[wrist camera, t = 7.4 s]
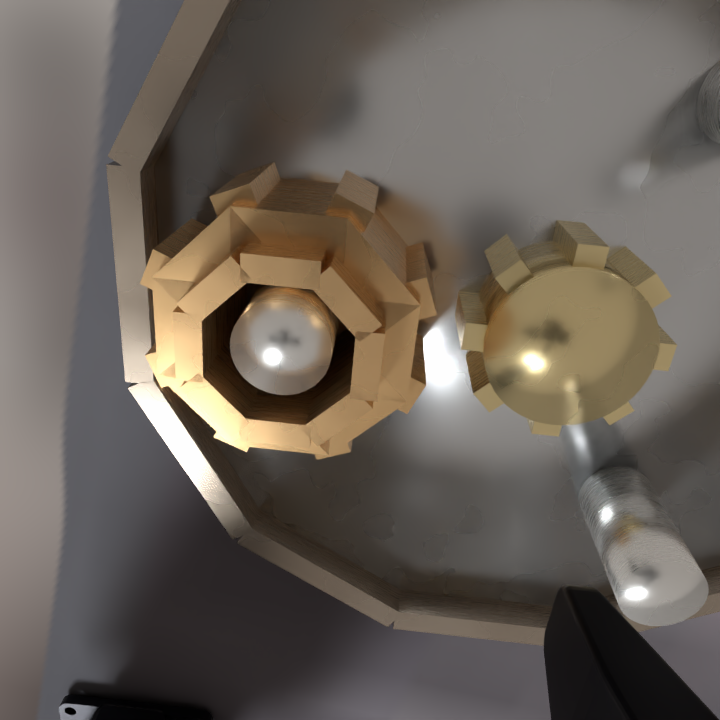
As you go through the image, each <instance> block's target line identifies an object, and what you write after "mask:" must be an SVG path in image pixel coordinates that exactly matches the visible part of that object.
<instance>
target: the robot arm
mask: <svg viewBox="0 0 720 720" xmlns="http://www.w3.org/2000/svg"><path fill="white" fill-rule="evenodd" d="M544 657H545V667H546V676H547V685H548V694H549V703H550V712H551V720H719V719H718V718H717V717H716V716H715V715H714V714H713V712H712V711H711V710H710V709H709V708H708V707H707V706H706V705H705V704H704V703H703V702H702V701H701V700H700V698H699V697H698V696H697V695H696V694H695V693H694V692H693V691H692V690H691V689H690V688H689V687H688V686H687V684H686V683H685V682H684V681H683V680H682V679H681V678H680V677H679V676H678V675H677V674H676V673H675V672H674V670H673V669H672V668H671V667H670V666H669V665H668V664H667V663H666V662H665V661H664V660H663V659H662V658H661V657H660V655H659V654H658V653H657V652H656V651H655V650H654V649H653V648H652V647H651V646H650V645H649V644H648V643H647V641H646V640H645V639H644V638H643V637H642V636H641V635H640V634H639V633H638V632H637V631H636V630H635V629H634V627H633V626H632V625H631V624H630V623H629V622H628V621H627V620H626V619H625V618H624V617H623V616H622V615H621V613H620V612H619V611H618V610H617V609H616V608H615V607H614V606H613V605H612V604H611V603H610V602H609V601H608V599H607V598H606V597H605V596H604V595H603V594H602V593H601V592H600V591H598V590H597V589H595V588H593V587H587V586H578V585H569V584H566V585H562V586H561V587H560V588H559V590H558V592H557V594H556V597H555V601H554V604H553V607H552V610H551V613H550V617H549V620H548V623H547V626H546V630H545V634H544ZM59 713H60V719H61V720H213V716H212V715H211V714H210V713H209V712H207V711H205V710H201V709H192V708H183V707H174V706H166V705H157V704H148V703H140V702H131V701H122V700H114V699H105V698H96V697H88V696H79V695H68V696H65V698H64V699H63V701H62V703H61V705H60V706H59Z"/></svg>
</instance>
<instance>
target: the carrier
mask: <svg viewBox="0 0 720 720" xmlns="http://www.w3.org/2000/svg"><path fill="white" fill-rule="evenodd" d="M108 157H110V158H111V159H113V160H114V162H112V163H109V164H106V166H107V178H108V189H109V200H110V212H111V223H112V234H113V246H114V257H115V269H116V280H117V291H118V303H119V314H120V325H121V337H122V348H123V359H124V371H125V382H132V384H131V385H130V386H129V387H128V389H129V390H130V392H131V393H132V395H133V396H134V398H135V399H136V401H137V402H138V403H139V405H140V406H141V408H142V409H143V411H144V412H145V414H146V415H147V416H148V418H149V419H150V421H151V422H152V424H153V425H154V427H155V428H156V429H157V431H158V432H159V434H160V435H161V437H162V438H163V440H164V441H165V442H166V444H167V445H168V447H169V448H170V450H171V451H172V453H173V454H174V455H175V457H176V458H177V460H178V461H179V463H180V464H181V466H182V467H183V468H184V470H185V471H186V473H187V474H188V476H189V477H190V479H191V480H192V482H193V483H194V484H195V486H196V487H197V489H198V490H199V492H200V493H201V495H202V496H203V497H204V499H205V500H206V502H207V503H208V505H209V506H210V508H211V509H212V510H213V512H214V513H215V515H216V516H217V518H218V519H219V521H220V522H221V523H222V525H223V526H224V528H225V529H226V531H227V532H228V534H229V535H230V536H231V538H232V539H235V538H238V537H239V538H238V541H237V544H239V545H241V546H243V547H245V548H246V549H248V550H250V551H252V552H254V553H255V554H257V555H259V556H261V557H263V558H264V559H266V560H268V561H270V562H272V563H273V564H275V565H277V566H279V567H281V568H282V569H284V570H286V571H288V572H290V573H291V574H293V575H295V576H297V577H299V578H300V579H302V580H304V581H306V582H308V583H309V584H311V585H313V586H315V587H317V588H318V589H320V590H322V591H324V592H326V593H327V594H329V595H331V596H333V597H335V598H336V599H338V600H340V601H342V602H344V603H345V604H347V605H349V606H351V607H353V608H354V609H356V610H358V611H360V612H362V613H363V614H365V615H367V616H369V617H371V618H372V619H374V620H376V621H378V622H380V623H381V624H383V625H385V626H387V627H388V626H389V625H390V624H391V623H392V622H393V629H400V630H409V631H418V632H427V633H436V634H444V635H453V636H462V637H471V638H480V639H489V640H498V641H507V642H516V643H525V644H533V645H542V646H544V634H545V630H546V626H547V623H548V620H549V617H550V613H551V610H552V607H553V604H554V601H555V597H556V594H557V592H558V590H559V588H560V587H561V586H562V585H566V584H569V585H578V586H587V587H593V588H595V589H597V590H598V591H600V592H601V593H602V594H603V595H604V596H605V597H606V598H607V599H608V601H609V602H610V603H611V604H612V605H613V606H614V607H615V608H616V609H617V610H618V611H619V612H620V613H621V615H622V616H623V617H624V618H625V619H626V620H627V621H628V622H629V623H630V624H631V625H632V626H633V627H634V629H635V630H636V631H637V632H640V631H644V630H648V629H652V628H656V627H660V626H666V625H671V624H675V623H678V622H681V621H684V620H688V619H692V618H696V617H700V616H704V615H708V614H712V613H716V612H720V0H184V2H183V4H182V6H181V8H180V10H179V12H178V14H177V16H176V19H175V21H174V23H173V25H172V27H171V29H170V31H169V33H168V35H167V37H166V39H165V41H164V43H163V45H162V47H161V49H160V51H159V53H158V55H157V57H156V59H155V61H154V63H153V65H152V67H151V69H150V71H149V73H148V75H147V77H146V80H145V82H144V84H143V86H142V88H141V90H140V92H139V94H138V96H137V98H136V100H135V102H134V104H133V106H132V108H131V110H130V112H129V114H128V116H127V118H126V120H125V122H124V124H123V126H122V128H121V130H120V132H119V134H118V136H117V139H116V141H115V143H114V145H113V147H112V149H111V151H110V153H109V155H108ZM273 162H274V163H275V166H276V168H277V171H278V174H279V177H283V178H293V179H303V180H312V181H322V182H332V183H340V181H341V179H342V177H343V175H344V173H345V171H346V169H347V170H348V171H350V172H352V173H354V174H356V175H357V176H359V177H361V178H363V179H365V180H367V181H368V182H370V183H372V184H374V185H376V186H378V187H379V189H378V195H377V200H376V207H377V208H378V210H379V211H380V212H381V213H382V214H383V216H384V217H385V218H386V219H387V221H388V222H389V223H390V224H391V226H392V227H393V228H394V229H395V230H396V232H397V233H398V234H399V235H400V237H401V238H402V239H403V240H404V241H405V243H406V244H407V245H408V246H411V245H414V244H418V243H421V242H423V244H424V248H425V251H426V255H427V259H428V262H429V266H430V269H431V273H432V279H433V287H434V295H435V303H436V311H437V315H435V316H431V317H427V318H424V319H420V320H419V321H418V328H417V334H419V335H421V336H423V344H424V359H425V373H426V387H425V388H424V390H423V391H422V393H421V394H420V396H419V397H418V399H417V400H416V402H415V403H414V405H413V406H412V408H411V409H410V411H409V412H408V414H406V413H404V412H402V411H400V410H398V409H397V410H395V411H394V412H392V413H391V414H389V415H388V416H387V417H385V418H384V419H382V420H381V421H379V422H378V423H376V424H375V425H373V426H372V427H370V428H369V429H367V430H366V431H364V432H363V433H361V434H360V435H359V436H357V437H356V438H354V439H353V440H352V447H351V452H349V453H344V454H340V455H336V456H331V457H327V458H323V459H318V460H317V459H316V457H315V454H310V453H301V452H291V451H282V450H273V449H264V448H255V447H249V449H248V451H247V452H245V451H243V450H241V449H239V448H236V447H234V446H232V445H230V444H228V443H225V442H223V441H221V440H219V439H217V438H214V435H215V433H216V431H215V430H214V429H213V428H212V427H211V426H210V425H209V424H208V423H207V422H206V421H205V420H204V419H203V418H202V417H201V416H200V415H199V414H197V413H196V412H195V411H194V410H193V409H192V408H191V407H190V406H189V405H188V404H187V403H186V402H185V401H184V400H183V399H182V398H181V397H180V396H178V395H177V394H176V393H175V392H174V391H173V390H172V389H171V388H170V387H169V386H166V387H162V388H161V386H160V384H159V383H158V381H157V379H156V377H155V375H154V373H153V371H152V369H151V367H150V365H149V363H148V361H147V359H146V357H145V354H146V353H147V352H148V351H149V350H150V349H151V347H152V346H153V345H154V344H155V343H156V339H155V322H154V306H153V290H151V289H149V288H147V287H145V286H143V285H141V284H140V282H141V279H142V277H143V274H144V271H145V269H146V266H147V264H148V261H149V258H150V256H151V253H152V250H153V249H154V248H155V247H156V246H158V245H159V244H160V243H161V242H163V241H164V240H165V239H166V238H168V237H169V236H170V235H171V234H173V233H174V232H175V231H176V230H178V229H179V228H180V227H181V226H183V225H184V224H185V223H186V222H188V221H189V220H190V219H194V220H196V221H198V222H200V223H202V224H204V225H206V226H209V225H210V224H211V223H212V222H213V221H214V220H215V219H216V218H217V214H216V212H215V209H214V207H213V205H212V202H211V200H210V196H211V195H212V194H214V193H215V192H216V191H217V190H219V189H220V188H221V187H223V186H224V185H225V184H227V183H228V182H229V181H231V180H232V179H233V178H235V177H236V176H237V175H239V174H240V173H242V172H246V171H249V170H252V169H255V168H258V167H261V166H264V165H267V164H270V163H273ZM346 329H347V327H346V326H345V325H344V324H343V323H342V322H341V321H340V319H339V318H338V317H337V316H336V315H335V314H334V313H333V312H332V311H331V309H330V308H329V307H328V306H327V305H326V304H325V303H324V302H323V301H322V299H321V298H320V297H319V296H318V295H317V294H316V293H315V292H314V291H313V290H311V289H302V288H292V287H283V286H273V285H263V284H254V283H247V306H246V308H245V309H244V311H243V313H242V314H241V316H240V318H239V319H238V321H237V323H236V324H235V326H234V328H233V331H232V333H231V338H230V352H231V356H232V359H233V362H234V364H235V366H236V368H237V370H238V371H239V373H240V374H241V375H242V376H243V377H244V378H245V379H246V380H247V381H248V382H249V383H250V384H252V385H253V386H255V387H257V388H258V389H260V390H263V391H265V392H268V393H272V394H277V395H293V394H298V393H301V392H304V391H306V390H308V389H310V388H312V387H313V386H315V385H316V384H317V383H318V382H319V381H320V380H321V379H322V378H323V377H324V375H325V374H326V372H327V370H328V368H329V365H330V361H331V357H332V353H333V349H334V344H335V340H336V337H337V336H338V335H339V334H341V333H342V332H343V331H345V330H346Z"/></svg>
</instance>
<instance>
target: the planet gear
mask: <svg viewBox="0 0 720 720" xmlns="http://www.w3.org/2000/svg"><path fill="white" fill-rule="evenodd" d="M378 189H379V187H378V186H376V185H374V184H372V183H370V182H368V181H367V180H365V179H363V178H361V177H359V176H357V175H356V174H354V173H352V172H350V171H348V170H347V169H346V171H345V173H344V175H343V177H342V179H341V181H340V183H332V182H322V181H312V180H303V179H293V178H283V177H279V174H278V171H277V168H276V166H275V163H274V162H273V163H270V164H267V165H264V166H261V167H258V168H255V169H252V170H249V171H246V172H242V173H240V174H239V175H237V176H236V177H235V178H233V179H232V180H231V181H229V182H228V183H227V184H225V185H224V186H223V187H221V188H220V189H219V190H217V191H216V192H215V193H214V194H212V195H211V196H210V200H211V202H212V205H213V207H214V209H215V212H216V214H217V218H216V219H215V220H214V221H213V222H212V223H211V224H210V225H209V226H206V225H204V224H202V223H200V222H198V221H196V220H194V219H190V220H189V221H188V222H186V223H185V224H184V225H183V226H181V227H180V228H179V229H178V230H176V231H175V232H174V233H173V234H171V235H170V236H169V237H168V238H166V239H165V240H164V241H163V242H161V243H160V244H159V245H158V246H156V247H155V248H154V249H153V250H152V253H151V256H150V258H149V261H148V264H147V266H146V269H145V271H144V274H143V277H142V279H141V282H140V284H141V285H143V286H145V287H147V288H149V289H151V290H153V306H154V322H155V339H156V343H155V344H154V345H153V346H152V347H151V349H150V350H149V351H148V352H147V353H146V354H145V357H146V359H147V361H148V363H149V365H150V367H151V369H152V371H153V373H154V375H155V377H156V379H157V381H158V383H159V384H160V386H161V388H162V387H166V386H169V387H170V388H171V389H172V390H173V391H174V392H175V393H176V394H177V395H178V396H180V397H181V398H182V399H183V400H184V401H185V402H186V403H187V404H188V405H189V406H190V407H191V408H192V409H193V410H194V411H195V412H196V413H197V414H199V415H200V416H201V417H202V418H203V419H204V420H205V421H206V422H207V423H208V424H209V425H210V426H211V427H212V428H213V429H214V430H215V431H216V433H215V435H214V438H217V439H219V440H221V441H223V442H225V443H228V444H230V445H232V446H234V447H236V448H239V449H241V450H243V451H245V452H247V451H248V449H249V447H255V448H264V449H273V450H282V451H291V452H301V453H310V454H315V457H316V459H317V460H318V459H323V458H327V457H331V456H336V455H340V454H344V453H349V452H351V447H352V440H353V439H354V438H356V437H357V436H359V435H360V434H361V433H363V432H364V431H366V430H367V429H369V428H370V427H372V426H373V425H375V424H376V423H378V422H379V421H381V420H382V419H384V418H385V417H387V416H388V415H389V414H391V413H392V412H394V411H395V410H397V409H398V410H400V411H402V412H404V413H406V414H408V412H409V411H410V409H411V408H412V406H413V405H414V403H415V402H416V400H417V399H418V397H419V396H420V394H421V393H422V391H423V390H424V388H425V387H426V373H425V359H424V344H423V336H421V335H419V334H417V328H418V321H419V320H420V319H424V318H427V317H431V316H435V315H437V311H436V303H435V295H434V287H433V279H432V273H431V269H430V266H429V262H428V259H427V255H426V251H425V248H424V244H423V242H421V243H418V244H414V245H411V246H408V245H407V244H406V243H405V241H404V240H403V239H402V238H401V237H400V235H399V234H398V233H397V232H396V230H395V229H394V228H393V227H392V226H391V224H390V223H389V222H388V221H387V219H386V218H385V217H384V216H383V214H382V213H381V212H380V211H379V210H378V208H377V207H376V200H377V195H378ZM247 283H254V284H263V285H273V286H283V287H292V288H302V289H311V290H313V291H314V292H315V293H316V294H317V295H318V296H319V297H320V298H321V299H322V301H323V302H324V303H325V304H326V305H327V306H328V307H329V308H330V309H331V311H332V312H333V313H334V314H335V315H336V316H337V317H338V318H339V319H340V321H341V322H342V323H343V324H344V325H345V326H346V327H347V329H346V330H345V331H343V332H342V333H341V334H339V335H338V336H337V337H336V340H335V344H334V349H333V353H332V357H331V361H330V365H329V368H328V370H327V372H326V374H325V375H324V377H323V378H322V379H321V380H320V381H319V382H318V383H317V384H316V385H315V386H313V387H312V388H310V389H308V390H306V391H304V392H301V393H298V394H293V395H277V394H272V393H268V392H265V391H263V390H260V389H258V388H257V387H255V386H253V385H252V384H250V383H249V382H248V381H247V380H246V379H245V378H244V377H243V376H242V375H241V374H240V373H239V371H238V370H237V368H236V366H235V364H234V362H233V359H232V356H231V352H230V338H231V333H232V331H233V328H234V326H235V324H236V323H237V321H238V319H239V318H240V316H241V314H242V313H243V311H244V309H245V308H246V306H247Z"/></svg>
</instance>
